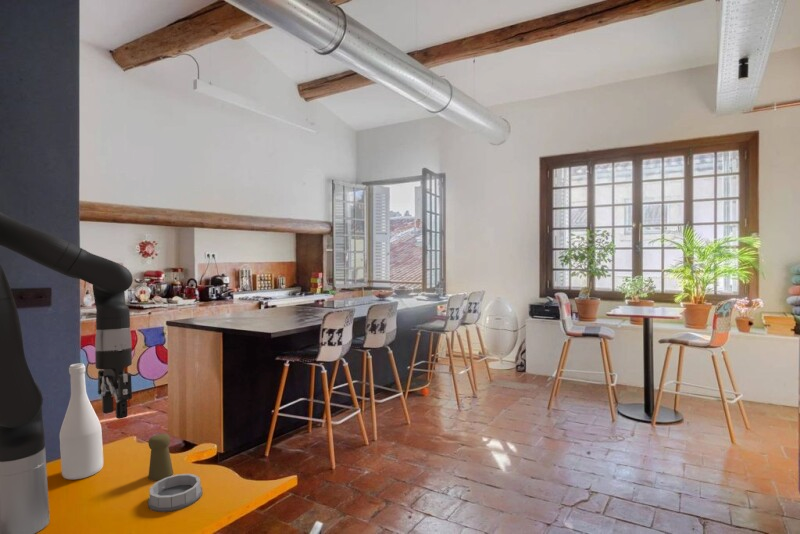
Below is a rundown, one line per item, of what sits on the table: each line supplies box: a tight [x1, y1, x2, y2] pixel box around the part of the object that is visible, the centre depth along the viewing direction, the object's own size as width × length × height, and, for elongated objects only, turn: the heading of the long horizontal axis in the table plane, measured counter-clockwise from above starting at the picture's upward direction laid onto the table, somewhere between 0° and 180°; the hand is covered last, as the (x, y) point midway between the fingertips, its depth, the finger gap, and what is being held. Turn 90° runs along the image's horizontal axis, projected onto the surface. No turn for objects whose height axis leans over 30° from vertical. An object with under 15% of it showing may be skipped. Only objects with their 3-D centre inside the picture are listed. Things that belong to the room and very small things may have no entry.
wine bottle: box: [59, 362, 104, 481], centre depth 129 cm, size 10×10×30 cm
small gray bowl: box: [147, 473, 203, 513], centre depth 116 cm, size 12×12×3 cm
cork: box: [147, 433, 174, 482], centre depth 127 cm, size 6×6×11 cm
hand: (114, 415), depth 114 cm, fingers open, 8 cm apart
